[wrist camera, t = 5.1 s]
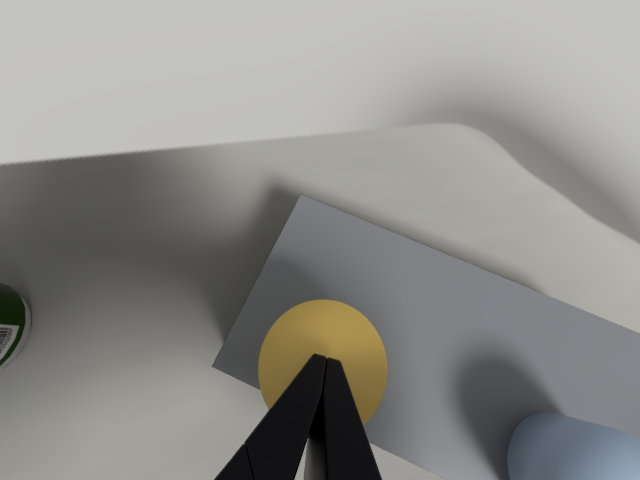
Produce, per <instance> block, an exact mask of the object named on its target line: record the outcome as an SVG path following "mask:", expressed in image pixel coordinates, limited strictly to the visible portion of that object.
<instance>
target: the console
mask: <svg viewBox="0 0 640 480" xmlns="http://www.w3.org/2000/svg"><path fill="white" fill-rule="evenodd" d="M322 299H324V300H334V301H338V302H341V303H344V304H347V305H349V306H351V307H353V308H355V309H356V310H357V311H359V312H360V313H362V314H363V315H364V316H365V317H366V318H367V319H368V320H369V321H370V322H371V324H372V325H373V326H374V328H375V329H376V331H377V332H378V334H379V336H380V338H381V340H382V343H383V345H384V349H385V353H386V357H387V367H388V375H387V383H386V388H385V392H384V395H383V397H382V400H381V402H380V404H379V406H378V408H377V410H376V411H375V412H374V414H373V415H372V417H371V418H370V419H369V420H368V421H367V422H366V423H365V424H364V425H363V426H364V429H365V432H366V435H367V438H368V441H369V442H370V443H372V444H374V445H376V446H378V447H380V448H382V449H384V450H386V451H388V452H390V453H392V454H394V455H396V456H399V457H401V458H403V459H405V460H407V461H409V462H411V463H413V464H415V465H417V466H419V467H421V468H423V469H426V470H428V471H430V472H432V473H434V474H436V475H438V476H440V477H442V478H444V479H446V480H510V477H509V473H508V465H507V455H508V447H509V442H510V439H511V437H512V434H513V432H514V431H515V429H516V427H517V426H518V425H519V424H520V423H521V422H522V421H523V420H524V419H526V418H527V417H528V416H531V415H533V414H536V413H541V412H552V413H557V414H561V415H565V416H568V417H572V418H576V419H580V420H584V421H587V422H591V423H595V424H599V425H603V426H606V427H610V428H614V429H618V430H621V431H624V432H627V433H630V434H632V435H634V436H636V437H638V438H639V439H640V333H637V332H635V331H632V330H630V329H627V328H625V327H623V326H620V325H618V324H615V323H613V322H610V321H608V320H606V319H603V318H601V317H598V316H596V315H593V314H591V313H589V312H586V311H584V310H581V309H579V308H576V307H574V306H571V305H569V304H567V303H564V302H562V301H559V300H557V299H554V298H552V297H550V296H547V295H545V294H542V293H540V292H537V291H535V290H533V289H530V288H528V287H525V286H523V285H520V284H518V283H515V282H513V281H511V280H508V279H506V278H503V277H501V276H498V275H496V274H494V273H491V272H489V271H486V270H484V269H481V268H479V267H477V266H474V265H472V264H469V263H467V262H464V261H462V260H459V259H457V258H455V257H452V256H450V255H447V254H445V253H442V252H440V251H438V250H435V249H433V248H430V247H428V246H425V245H423V244H421V243H418V242H416V241H413V240H411V239H408V238H406V237H403V236H401V235H399V234H396V233H394V232H391V231H389V230H386V229H384V228H382V227H379V226H377V225H374V224H372V223H369V222H367V221H365V220H362V219H360V218H357V217H355V216H352V215H350V214H347V213H345V212H343V211H340V210H338V209H335V208H333V207H330V206H328V205H326V204H323V203H321V202H318V201H316V200H313V199H311V198H309V197H306V196H304V195H300V197H299V199H298V201H297V203H296V205H295V207H294V209H293V211H292V212H291V214H290V216H289V218H288V220H287V222H286V224H285V226H284V228H283V230H282V232H281V234H280V236H279V238H278V240H277V241H276V243H275V245H274V247H273V249H272V251H271V253H270V255H269V257H268V259H267V261H266V263H265V265H264V267H263V269H262V270H261V272H260V274H259V276H258V278H257V280H256V282H255V284H254V286H253V288H252V290H251V292H250V294H249V296H248V298H247V299H246V301H245V303H244V305H243V307H242V309H241V311H240V313H239V315H238V317H237V319H236V321H235V323H234V325H233V327H232V328H231V330H230V332H229V334H228V336H227V338H226V340H225V342H224V344H223V346H222V348H221V350H220V352H219V354H218V355H217V357H216V359H215V361H214V363H213V365H212V367H214V368H216V369H218V370H220V371H222V372H224V373H226V374H228V375H231V376H233V377H235V378H237V379H239V380H241V381H243V382H245V383H247V384H249V385H251V386H253V387H255V388H258V389H260V385H259V377H258V363H259V355H260V351H261V347H262V345H263V342H264V339H265V337H266V335H267V334H268V332H269V330H270V329H271V327H272V326H273V324H274V323H275V322H276V321H277V320H278V319H279V318H280V317H281V316H282V315H283V314H284V313H285V312H287V311H288V310H290V309H291V308H293V307H295V306H297V305H299V304H301V303H304V302H307V301H312V300H322ZM260 390H261V389H260Z"/></svg>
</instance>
